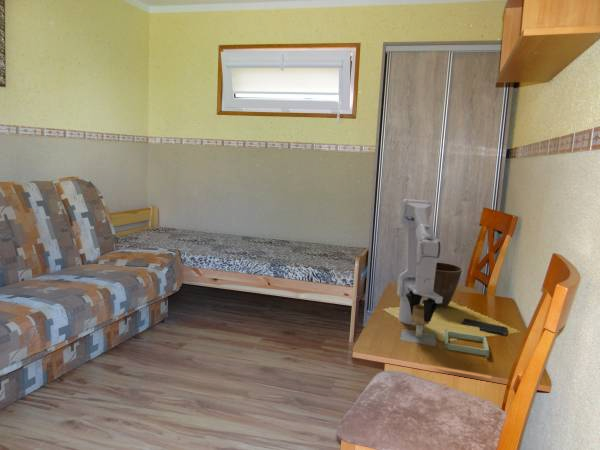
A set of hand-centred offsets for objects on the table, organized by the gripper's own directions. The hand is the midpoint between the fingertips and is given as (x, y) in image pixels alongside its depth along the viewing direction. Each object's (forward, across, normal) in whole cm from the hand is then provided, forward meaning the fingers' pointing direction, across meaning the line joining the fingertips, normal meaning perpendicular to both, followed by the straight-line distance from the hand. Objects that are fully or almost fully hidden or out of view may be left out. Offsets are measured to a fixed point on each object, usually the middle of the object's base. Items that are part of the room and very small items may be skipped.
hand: (420, 318), depth 158 cm
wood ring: (+1, 0, 0) cm, 1 cm away
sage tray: (+7, +10, +10) cm, 16 cm away
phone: (+8, -1, +32) cm, 33 cm away
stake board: (+7, 0, 0) cm, 7 cm away
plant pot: (+8, -26, +35) cm, 44 cm away
